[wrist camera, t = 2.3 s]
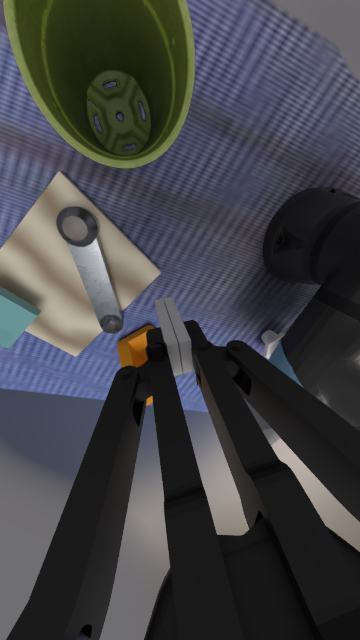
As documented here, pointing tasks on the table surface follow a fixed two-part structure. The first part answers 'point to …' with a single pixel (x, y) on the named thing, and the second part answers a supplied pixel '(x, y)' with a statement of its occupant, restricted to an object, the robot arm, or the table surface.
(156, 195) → the table surface
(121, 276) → the base board
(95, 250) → the link
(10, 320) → the block
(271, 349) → the pipe fitting
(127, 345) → the bracket
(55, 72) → the plant pot
